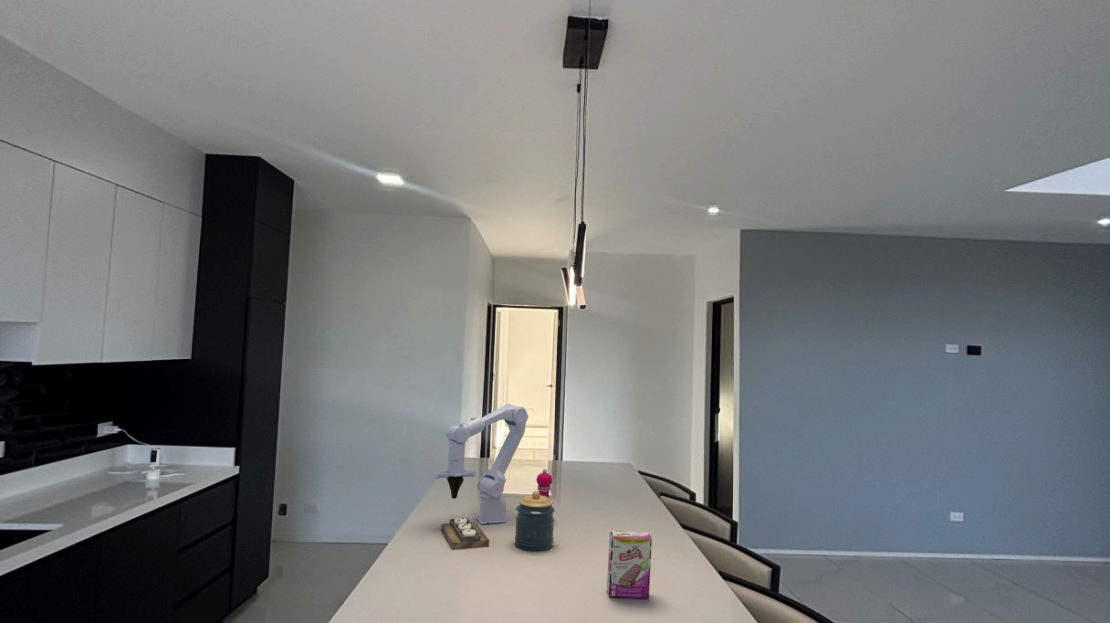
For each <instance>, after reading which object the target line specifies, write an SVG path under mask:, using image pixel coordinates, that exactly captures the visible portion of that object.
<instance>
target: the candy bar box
mask: <svg viewBox="0 0 1110 623" xmlns="http://www.w3.org/2000/svg"><path fill="white" fill-rule="evenodd" d="M652 544H653V538H652V537H651V535H650V533H649V532H642V531H641V532H640V531H639V532H638V531H622V530H621V531H620V530H610V531H609V544H608V545H609V546H608V560H607V580H606V581H607V582H606V592H607V591H608V592H607V595H609V596H608V597H609V598H615V597H620V598H621V597H622V599H638V598H640V600H642V599H645V600H648V599H649V598H650V584H651V583H650V582H651V564H652V563H651V562H652V547H653V546H652Z"/></svg>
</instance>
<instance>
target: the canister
mask: <svg viewBox="0 0 1110 623" xmlns="http://www.w3.org/2000/svg"><path fill="white" fill-rule="evenodd" d="M518 503H519V505H517V506H516V507H515V509H516V512H517V516H516V517H515V535H514V542H515V543H514V544H515V546H516V547H518V548H520V549H522V550H526V551H532V552H533V551H534V552H538V551H540V552H541V551H545V550H549V549H551V548H552V546H553V543H554V522H555V518H554V513H555V512H556V511H555V508H554V506H551V505H553V504H554V503H553V501H552V500H551V499H550V497H549V498H548V497H546V496H542V495H540V493H539V491H537V490H534V491H533V492H532V494H529V495H528V494H527V495H525V496H523V497H522V498H520V499H519V500H518Z"/></svg>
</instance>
